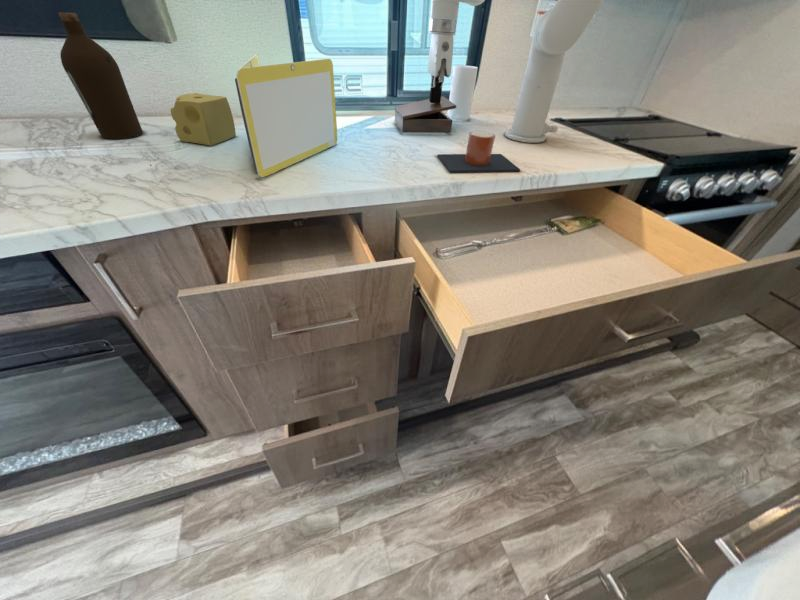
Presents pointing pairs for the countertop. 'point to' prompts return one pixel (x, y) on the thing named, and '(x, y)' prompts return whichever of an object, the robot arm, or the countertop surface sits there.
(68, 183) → the countertop surface
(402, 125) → the brown wooden box
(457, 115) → the white cylinder
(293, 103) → the tablet
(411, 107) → the lid
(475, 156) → the orange cup
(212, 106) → the cheese
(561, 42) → the robot arm
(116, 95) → the olive oil
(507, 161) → the mat
